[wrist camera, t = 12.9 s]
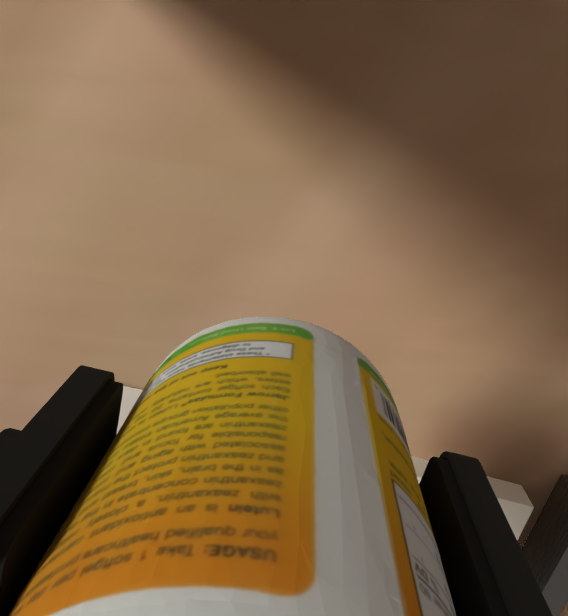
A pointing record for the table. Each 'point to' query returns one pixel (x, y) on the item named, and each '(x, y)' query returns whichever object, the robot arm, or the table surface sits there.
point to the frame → (551, 548)
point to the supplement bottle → (250, 492)
